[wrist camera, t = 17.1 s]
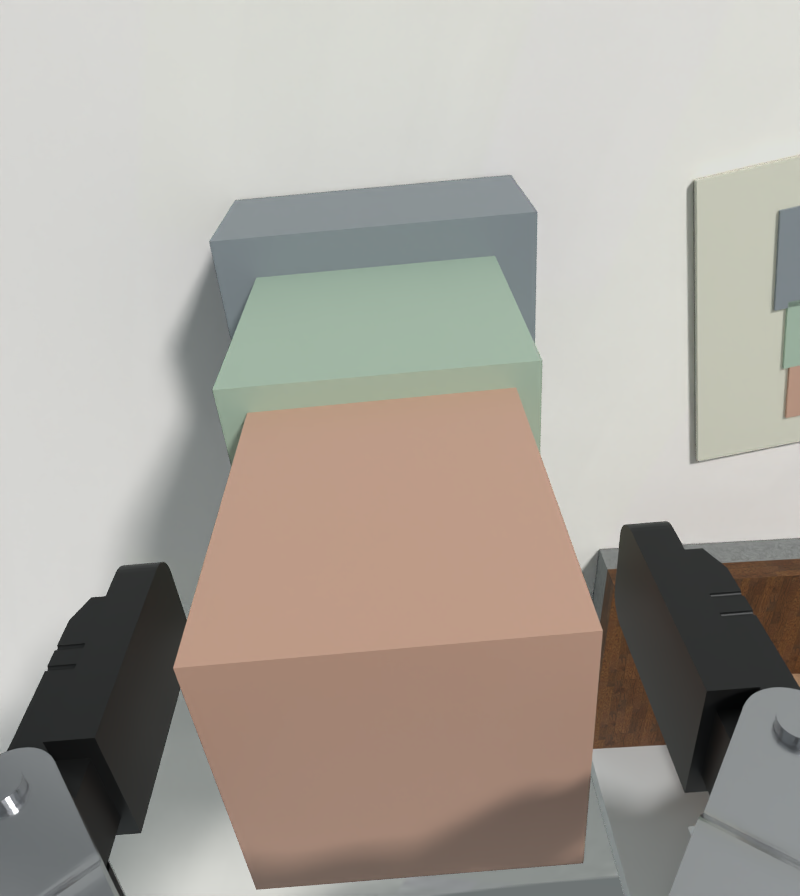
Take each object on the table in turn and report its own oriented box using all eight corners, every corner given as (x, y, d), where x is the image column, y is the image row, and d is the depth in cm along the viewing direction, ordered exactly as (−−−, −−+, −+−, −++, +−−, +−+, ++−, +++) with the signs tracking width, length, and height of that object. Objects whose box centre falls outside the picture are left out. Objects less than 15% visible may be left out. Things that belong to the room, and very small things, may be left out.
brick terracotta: (246, 412, 14) (172, 667, 9) (516, 387, 14) (603, 630, 8) (292, 607, 16) (257, 889, 11) (517, 587, 16) (583, 863, 11)
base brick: (234, 200, 21) (209, 241, 18) (510, 175, 21) (537, 211, 18) (281, 434, 26) (267, 503, 22) (510, 415, 25) (532, 481, 22)
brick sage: (256, 277, 18) (212, 390, 13) (495, 255, 18) (542, 360, 13) (294, 474, 22) (271, 624, 17) (497, 456, 22) (536, 602, 16)
